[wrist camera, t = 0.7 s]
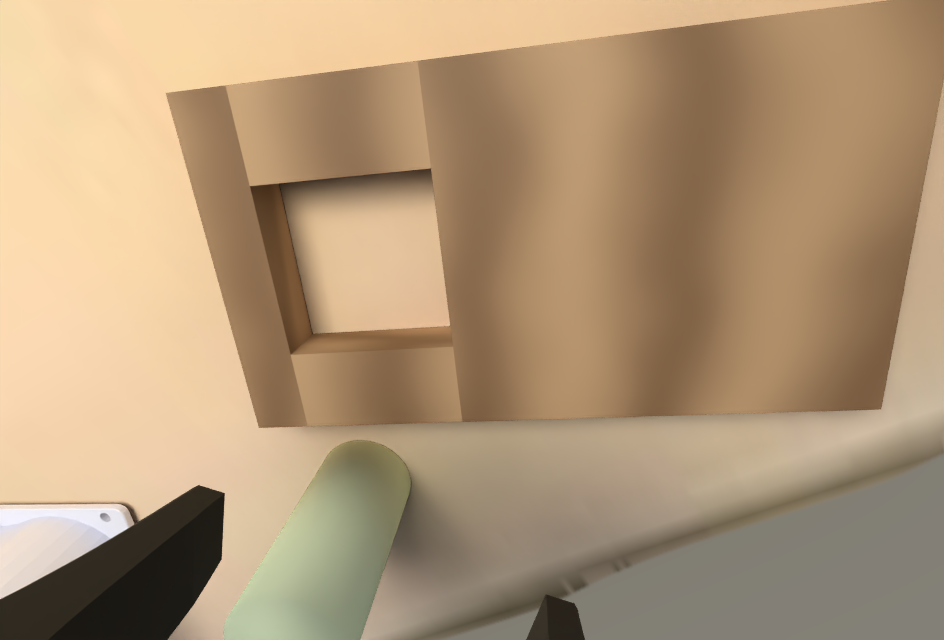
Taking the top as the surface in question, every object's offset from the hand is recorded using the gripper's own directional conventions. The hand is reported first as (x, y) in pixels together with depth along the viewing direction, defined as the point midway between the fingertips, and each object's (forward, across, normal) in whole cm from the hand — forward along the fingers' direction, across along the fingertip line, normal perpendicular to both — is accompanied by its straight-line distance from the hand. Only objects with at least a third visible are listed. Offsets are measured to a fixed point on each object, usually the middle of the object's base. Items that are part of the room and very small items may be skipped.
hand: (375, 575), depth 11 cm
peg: (+10, +3, +7) cm, 12 cm away
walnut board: (+10, -2, -5) cm, 12 cm away
